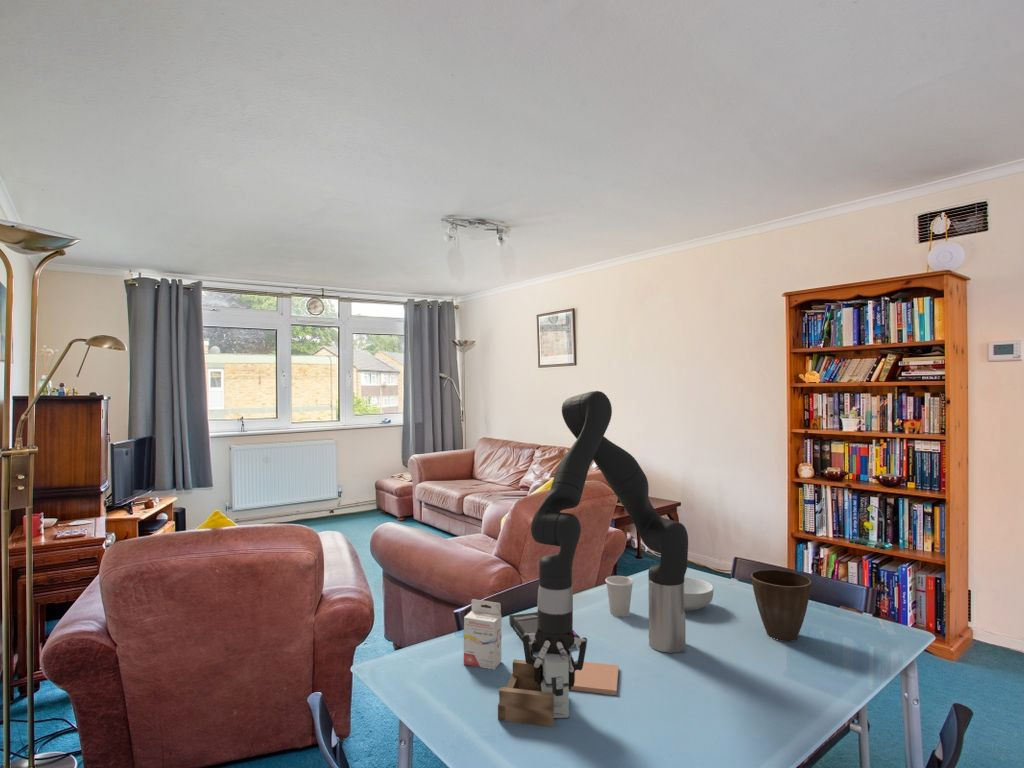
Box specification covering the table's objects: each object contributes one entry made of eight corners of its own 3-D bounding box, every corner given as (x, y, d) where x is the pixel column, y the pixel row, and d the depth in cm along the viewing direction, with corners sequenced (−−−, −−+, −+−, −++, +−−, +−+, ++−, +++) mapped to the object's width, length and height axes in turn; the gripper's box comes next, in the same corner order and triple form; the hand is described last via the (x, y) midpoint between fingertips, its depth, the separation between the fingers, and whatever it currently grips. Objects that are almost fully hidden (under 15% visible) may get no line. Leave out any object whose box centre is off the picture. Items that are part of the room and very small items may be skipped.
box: (580, 649, 150) (553, 620, 168) (580, 636, 150) (553, 608, 168) (530, 656, 146) (508, 625, 164) (530, 642, 146) (508, 612, 164)
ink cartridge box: (462, 665, 139) (462, 605, 140) (470, 656, 144) (470, 598, 144) (495, 670, 137) (495, 609, 137) (502, 661, 141) (502, 602, 142)
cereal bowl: (721, 617, 169) (721, 593, 169) (665, 617, 169) (665, 593, 169) (703, 596, 186) (703, 575, 186) (652, 596, 186) (652, 575, 186)
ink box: (540, 696, 125) (541, 642, 125) (562, 696, 125) (563, 641, 125) (545, 719, 116) (546, 660, 116) (569, 718, 116) (569, 660, 116)
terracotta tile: (618, 669, 137) (618, 665, 137) (616, 695, 125) (616, 690, 125) (569, 664, 140) (569, 660, 140) (562, 689, 128) (562, 684, 128)
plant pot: (752, 642, 152) (751, 582, 152) (751, 621, 165) (750, 566, 166) (814, 651, 146) (814, 589, 146) (808, 629, 160) (807, 572, 160)
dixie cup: (613, 605, 178) (612, 573, 178) (637, 611, 173) (637, 578, 173) (600, 614, 171) (600, 581, 172) (626, 620, 166) (626, 586, 167)
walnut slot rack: (561, 691, 127) (561, 664, 127) (552, 727, 113) (552, 696, 113) (512, 685, 129) (512, 659, 130) (497, 720, 116) (497, 690, 116)
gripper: (590, 602, 123) (589, 681, 122) (525, 596, 126) (524, 673, 126) (587, 616, 116) (586, 699, 115) (518, 609, 119) (517, 690, 118)
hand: (554, 685), depth 120 cm, fingers closed on ink box, 6 cm apart
